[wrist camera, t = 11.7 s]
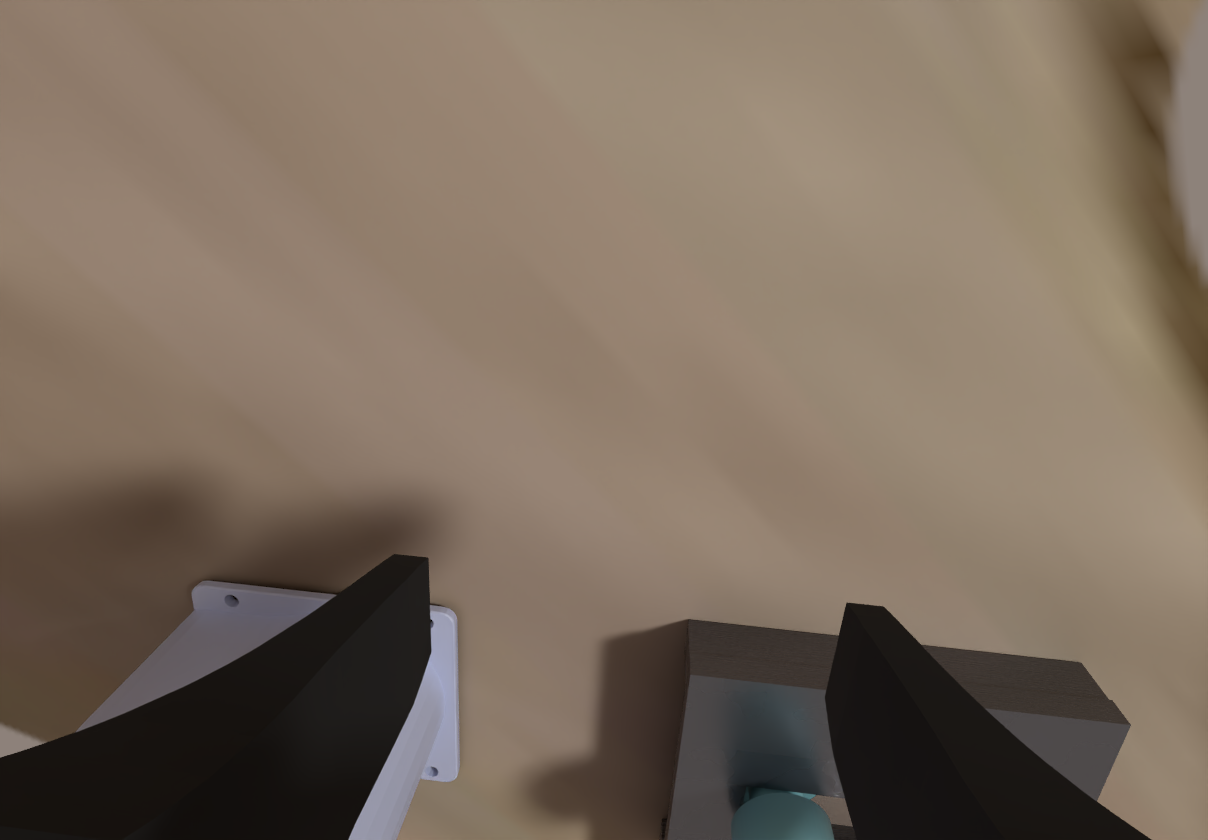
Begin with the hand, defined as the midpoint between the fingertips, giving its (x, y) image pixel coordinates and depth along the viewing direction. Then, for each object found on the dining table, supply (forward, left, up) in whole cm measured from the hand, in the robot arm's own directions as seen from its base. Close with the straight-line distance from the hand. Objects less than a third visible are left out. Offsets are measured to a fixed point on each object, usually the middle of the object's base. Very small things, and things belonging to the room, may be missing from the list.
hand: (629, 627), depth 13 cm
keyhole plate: (+8, -13, -10) cm, 19 cm away
